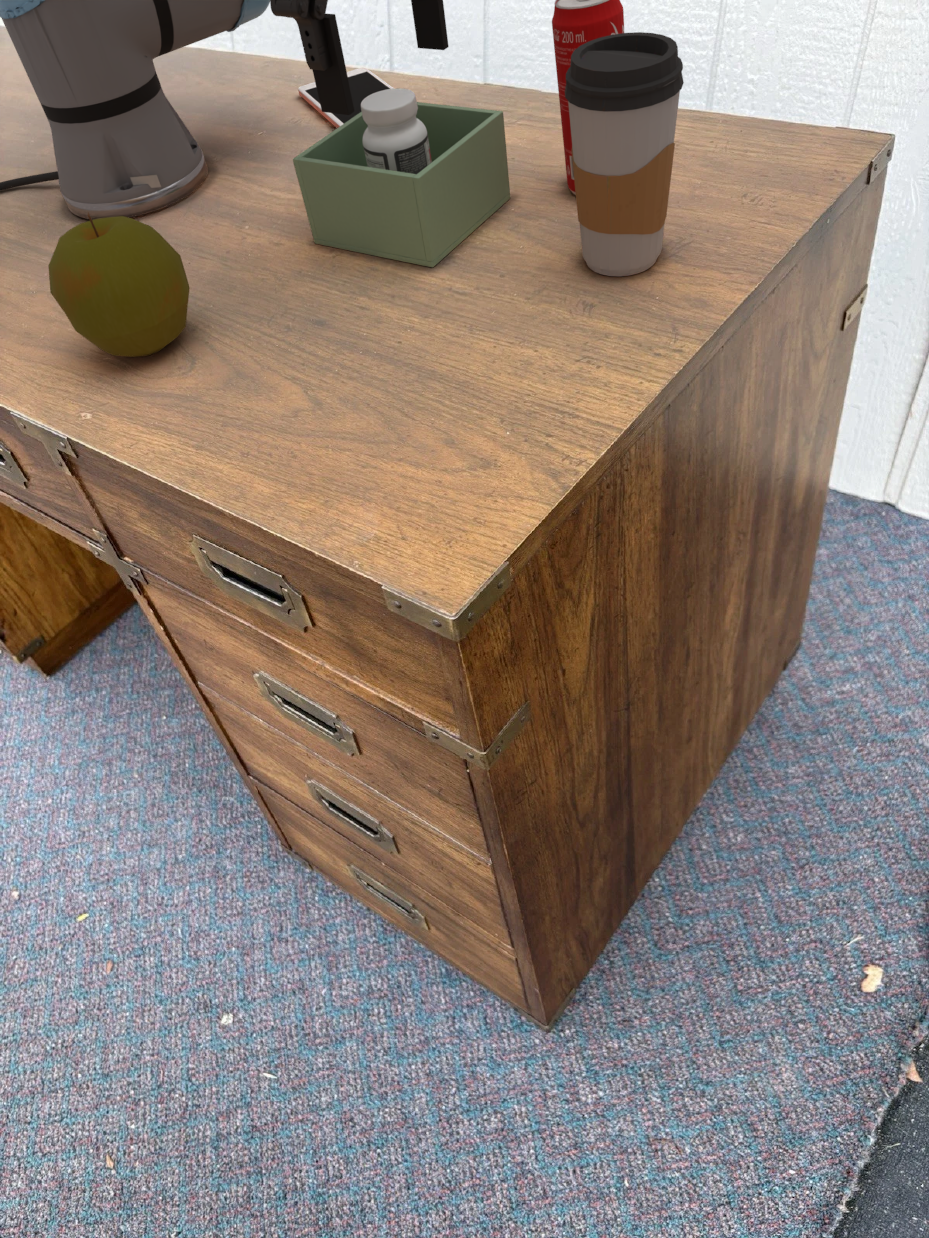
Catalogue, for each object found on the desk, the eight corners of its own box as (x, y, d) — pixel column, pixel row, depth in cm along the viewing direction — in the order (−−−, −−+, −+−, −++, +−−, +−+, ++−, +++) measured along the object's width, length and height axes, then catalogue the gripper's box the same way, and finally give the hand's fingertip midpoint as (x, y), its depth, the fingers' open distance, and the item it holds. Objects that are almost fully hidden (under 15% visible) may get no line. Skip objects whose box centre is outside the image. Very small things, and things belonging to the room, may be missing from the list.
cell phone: (351, 142, 94) (349, 133, 93) (298, 95, 105) (296, 87, 105) (425, 118, 96) (424, 109, 95) (365, 75, 107) (364, 66, 106)
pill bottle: (438, 198, 82) (421, 81, 75) (440, 226, 78) (422, 106, 71) (379, 207, 83) (355, 91, 75) (377, 235, 79) (353, 117, 71)
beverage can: (627, 199, 78) (630, 3, 67) (555, 202, 80) (545, 10, 68) (632, 170, 82) (636, -22, 71) (563, 172, 83) (556, -15, 72)
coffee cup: (606, 224, 76) (606, 25, 64) (693, 245, 72) (708, 36, 60) (550, 270, 72) (539, 66, 61) (638, 294, 68) (643, 81, 57)
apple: (224, 312, 74) (176, 180, 66) (174, 380, 69) (114, 245, 60) (123, 309, 77) (64, 182, 69) (66, 375, 71) (-7, 245, 63)
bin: (314, 243, 80) (292, 159, 75) (396, 180, 87) (381, 98, 81) (433, 268, 75) (418, 178, 69) (510, 198, 81) (503, 111, 76)
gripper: (239, -257, 48) (331, 148, 64) (477, -328, 60) (504, 26, 77) (145, -247, 51) (255, 136, 67) (389, -316, 64) (433, 22, 80)
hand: (388, 79), depth 72 cm, fingers open, 13 cm apart
